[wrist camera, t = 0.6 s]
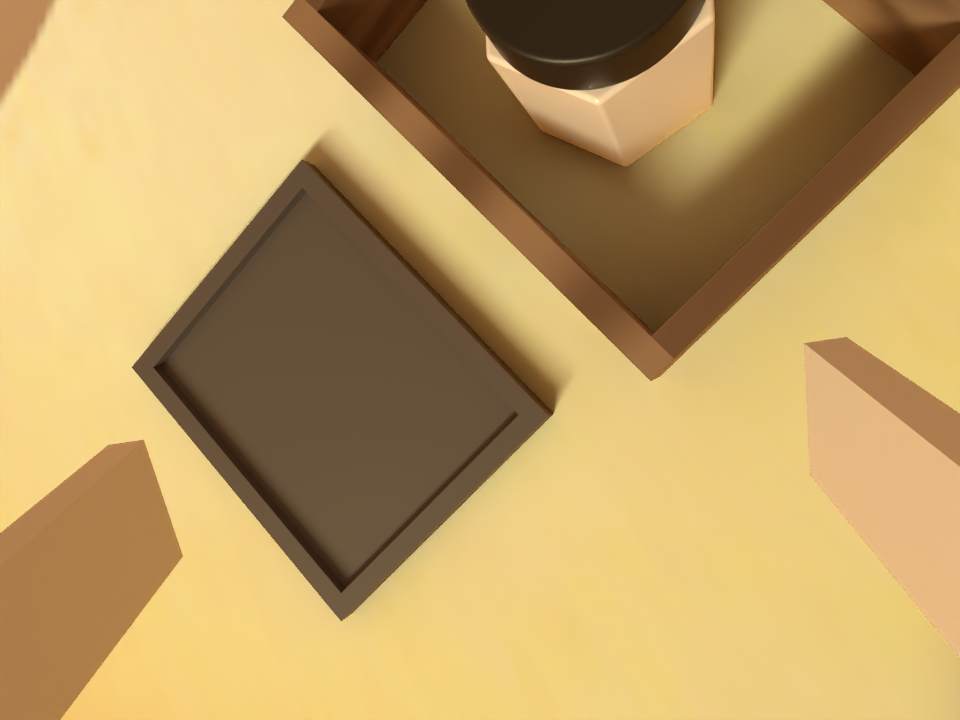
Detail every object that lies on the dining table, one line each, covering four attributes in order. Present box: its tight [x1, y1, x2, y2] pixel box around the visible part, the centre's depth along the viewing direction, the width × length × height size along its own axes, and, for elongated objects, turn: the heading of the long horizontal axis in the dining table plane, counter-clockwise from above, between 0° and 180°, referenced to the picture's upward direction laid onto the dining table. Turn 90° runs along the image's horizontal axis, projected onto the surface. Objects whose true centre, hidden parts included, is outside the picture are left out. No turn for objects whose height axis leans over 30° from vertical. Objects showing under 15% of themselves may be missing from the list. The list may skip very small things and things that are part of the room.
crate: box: [282, 0, 960, 381], centre depth 32 cm, size 22×17×6 cm
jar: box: [466, 0, 715, 167], centre depth 29 cm, size 9×8×12 cm
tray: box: [132, 160, 553, 621], centre depth 38 cm, size 18×15×1 cm
